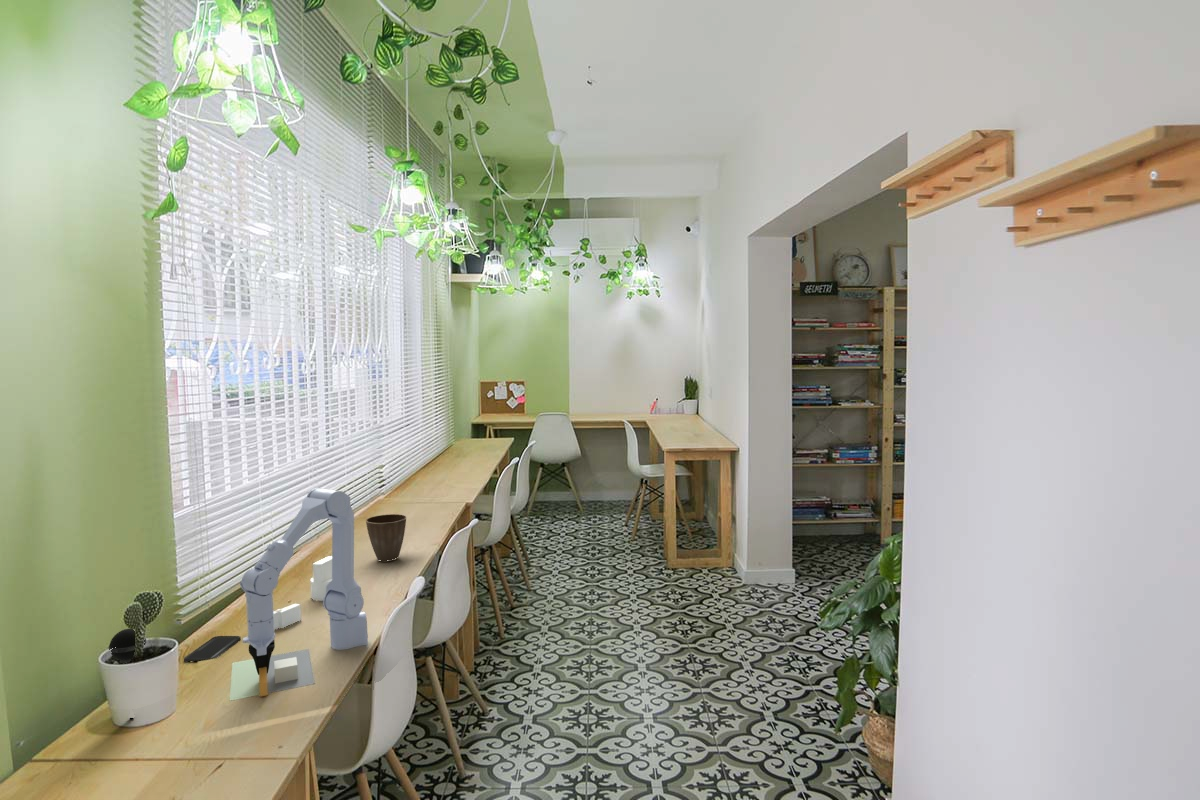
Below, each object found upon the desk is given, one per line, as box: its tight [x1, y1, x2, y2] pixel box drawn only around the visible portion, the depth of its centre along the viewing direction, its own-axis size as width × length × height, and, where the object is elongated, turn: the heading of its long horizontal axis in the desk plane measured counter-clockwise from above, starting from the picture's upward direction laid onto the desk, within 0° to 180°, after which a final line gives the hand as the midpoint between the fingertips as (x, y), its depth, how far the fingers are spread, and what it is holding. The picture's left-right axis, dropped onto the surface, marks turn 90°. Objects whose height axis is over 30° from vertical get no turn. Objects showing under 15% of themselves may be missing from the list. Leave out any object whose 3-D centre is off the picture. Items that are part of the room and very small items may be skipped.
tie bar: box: [259, 667, 269, 697], centre depth 164 cm, size 2×9×3 cm, turn 26°
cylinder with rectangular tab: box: [310, 555, 332, 602], centre depth 230 cm, size 9×9×12 cm
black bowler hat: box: [107, 628, 147, 664], centre depth 153 cm, size 7×7×20 cm
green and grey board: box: [229, 648, 316, 702], centre depth 173 cm, size 18×22×1 cm
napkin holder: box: [273, 603, 302, 631], centre depth 205 cm, size 15×11×6 cm
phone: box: [183, 635, 242, 663], centre depth 189 cm, size 8×1×15 cm
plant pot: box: [365, 513, 407, 561], centre depth 270 cm, size 15×15×16 cm
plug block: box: [274, 657, 298, 683], centre depth 170 cm, size 5×5×4 cm
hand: (262, 673), depth 169 cm, fingers closed
